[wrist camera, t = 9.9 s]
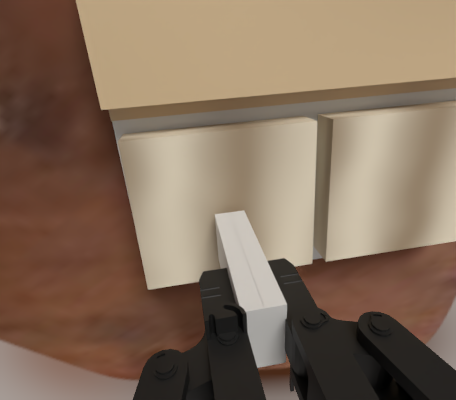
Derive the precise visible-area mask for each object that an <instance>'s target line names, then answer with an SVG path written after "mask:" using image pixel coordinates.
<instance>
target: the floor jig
mask: <svg viewBox="0 0 456 400" xmlns="http://www.w3.org/2000/svg"><path fill="white" fill-rule="evenodd" d="M76 3H77V8H78V12H79V16H80V21H81V25H82V29H83V34H84V38H85V42H86V47H87V51H88V55H89V60H90V64H91V68H92V73H93V77H94V82H95V86H96V90H97V95H98V99H99V103H100V108H101V110H107V109H108V110H109V114H110V119H111V121H112V123H113V128H114V132H115V137H116V142H117V146H118V140H119V139H120V138H121V136H122V135H123V134H128V133H138V132H147V131H157V130H167V129H177V128H187V127H197V126H207V125H217V124H227V123H237V122H246V121H256V120H266V119H276V118H286V117H296V116H305V117H308V118H311V119H313V120H316V121H317V124H318V114H326V113H336V112H345V111H355V110H365V109H375V108H385V107H395V106H405V105H415V104H425V103H435V102H444V101H454V100H456V0H76ZM118 151H119V147H118ZM316 152H317V147H316ZM119 155H120V151H119ZM120 160H121V156H120ZM121 164H122V161H121ZM122 169H123V166H122ZM123 174H124V171H123ZM124 178H125V176H124ZM315 181H316V175H315ZM125 183H126V180H125ZM126 187H127V185H126ZM127 192H128V190H127ZM128 196H129V195H128ZM129 201H130V200H129ZM314 209H315V204H314ZM132 215H133V214H132ZM313 237H314V232H313ZM319 258H322V256H321V255H320V254H319V252H318V251H317V250H316V249H315V247H314V246H313V259H319Z"/></svg>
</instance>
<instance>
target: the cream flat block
mask: <svg viewBox="0 0 456 400" xmlns="http://www.w3.org/2000/svg"><path fill="white" fill-rule="evenodd" d="M118 147H119V151H120V156H121V161H122V166H123V171H124V176H125V180H126V185H127V190H128V195H129V200H130V205H131V210H132V214H133V219H134V224H135V229H136V234H137V239H138V243H139V248H140V253H141V258H142V263H143V268H144V273H145V277H146V282H147V287H148V290H150V289H156V288H163V287H169V286H175V285H182V284H188V283H194V282H199V279H200V277H201V275H202V273H203V271H209V270H216V269H221V267H220V263H219V257H218V246H217V235H216V224H215V214H221V213H228V212H236V211H243V210H244V211H245V213H246V215H247V218H248V220H249V222H250V224H251V226H252V229H253V231H254V233H255V235H256V237H257V239H258V242H259V244H260V246H261V248H262V250H263V253H264V255H265V257H266V259H267V261H269V260H275V259H282V258H285V259H286V260H288V261H289V262H290V263H292V264H293V265H294V267H295V266H301V265H308V264H312V260H313V232H314V204H315V175H316V147H317V121H316V120H313V119H311V118H308V117H305V116H296V117H286V118H276V119H266V120H256V121H246V122H237V123H227V124H217V125H207V126H197V127H187V128H177V129H167V130H157V131H147V132H138V133H128V134H123V135H122V136H121V138H120V139H119V140H118Z"/></svg>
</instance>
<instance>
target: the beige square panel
mask: <svg viewBox="0 0 456 400" xmlns="http://www.w3.org/2000/svg"><path fill="white" fill-rule="evenodd" d="M453 241H456V100H454V101H444V102H435V103H425V104H415V105H405V106H395V107H385V108H375V109H365V110H355V111H345V112H336V113H326V114H318V124H317V152H316V181H315V209H314V237H313V246H314V247H315V249H316V250H317V251H318V252H319V254H320V255H321V256H322V258H323V259H324V260H325V261H326V262H327V261H333V260H340V259H346V258H352V257H358V256H365V255H371V254H377V253H384V252H390V251H396V250H403V249H409V248H415V247H421V246H428V245H434V244H440V243H447V242H453Z"/></svg>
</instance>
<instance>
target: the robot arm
mask: <svg viewBox="0 0 456 400" xmlns="http://www.w3.org/2000/svg"><path fill="white" fill-rule="evenodd" d="M215 224H216V235H217V246H218V257H219V263H220V267H221V269H216V270H209V271H203V273H202V275H201V277H200V279H199V284H200V291H201V299H202V307H203V315H204V322H205V333H204V336H203V338H202V340H201V341H200V342H199V343H198V344H197V345H196V346H195V347H193V348H191V349H190V350H188V351H186V352H184V353H181V352H179V351H177V350H172V349H168V350H162V351H160V352H158V353H156V354H154V355H153V356H152V357H151V358H150V359H148V361H147V362H146V364H145V366H144V368H143V371H142V374H141V377H140V380H139V383H138V386H137V389H136V392H135V395H134V398H133V400H266V398H265V394H264V390H263V387H262V383H261V379H260V376H259V372H258V369H257V368H259V367H264V366H269V365H275V364H280V363H285V362H286V354H287V356H288V359H289V362H290V391H294V386H295V389H296V392H297V394H298V397H299V400H456V370H454V369H453V368H452V367H451V366H450V365H448V364H447V363H446V362H445V361H444V360H442V359H441V358H440V357H439V356H438V355H436V353H434V352H433V351H432V350H431V349H430V348H428V347H427V346H426V345H425V344H424V343H422V342H421V341H420V340H419V339H418V338H417V337H415V336H414V335H413V334H412V333H411V332H409V331H408V330H407V329H406V328H405V327H404V326H402V325H401V324H400V323H399V322H398V321H396V320H395V319H394V318H392V317H390V316H389V315H387V314H384V313H381V312H367V313H364V314H363V315H361V316H360V318H359V320H358V322H352V321H342V320H336V319H333V318H331V317H330V316H329V315H328V314H327V312H325V311H323V310H322V309H320V308H318V307H317V306H316V304H315V302H314V300H313V298H312V297H311V295H310V293H309V291H308V290H307V288H306V286H305V284H304V283H303V282H302V279H301V277H300V276H299V275H298V272H297V270H296V268H295V267H294V265H293V264H292V263H290V262H289V261H288V260H286V259H285V258H282V259H275V260H269V261H267V259H266V257H265V255H264V253H263V250H262V248H261V246H260V244H259V242H258V239H257V237H256V235H255V233H254V231H253V229H252V226H251V224H250V222H249V220H248V218H247V215H246V213H245V211H244V210H243V211H236V212H228V213H221V214H215Z"/></svg>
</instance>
